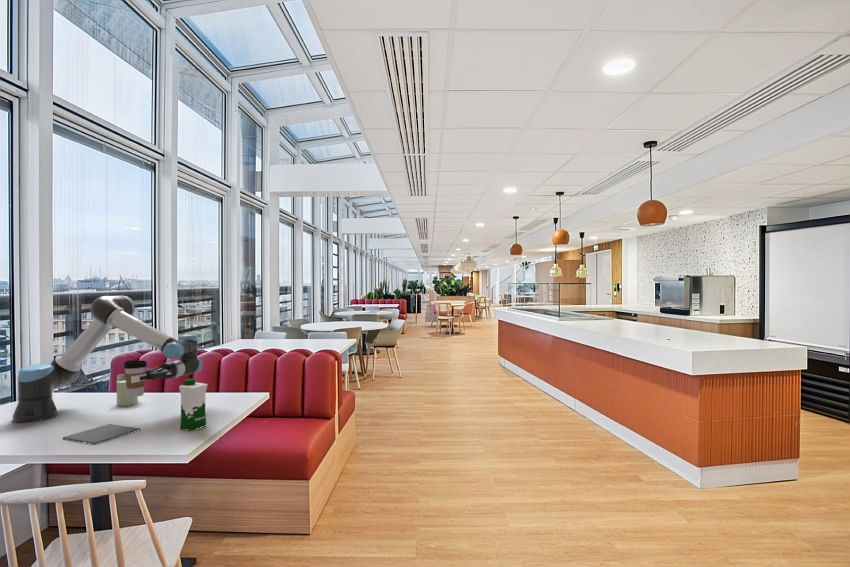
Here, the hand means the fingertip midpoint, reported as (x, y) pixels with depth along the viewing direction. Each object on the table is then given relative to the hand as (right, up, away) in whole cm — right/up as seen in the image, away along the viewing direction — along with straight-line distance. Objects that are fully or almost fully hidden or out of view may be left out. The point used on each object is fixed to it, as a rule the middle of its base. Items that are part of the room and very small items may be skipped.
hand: (124, 379), depth 190 cm
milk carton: (+31, -20, -3) cm, 37 cm away
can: (-24, -21, +37) cm, 49 cm away
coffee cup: (+2, -8, +4) cm, 10 cm away
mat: (-1, -20, -12) cm, 23 cm away
